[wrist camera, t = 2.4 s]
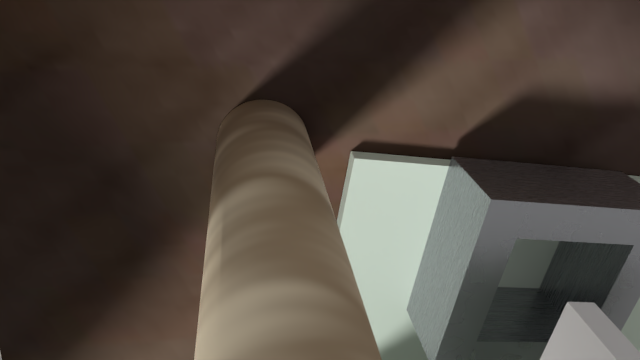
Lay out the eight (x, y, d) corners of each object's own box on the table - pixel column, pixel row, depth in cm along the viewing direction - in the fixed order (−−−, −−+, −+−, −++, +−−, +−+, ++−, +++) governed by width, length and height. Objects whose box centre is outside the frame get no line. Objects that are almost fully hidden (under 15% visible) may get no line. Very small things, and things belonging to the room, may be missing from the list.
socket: (406, 309, 26) (432, 368, 23) (451, 156, 23) (491, 199, 19) (555, 312, 28) (600, 368, 25) (621, 171, 24) (685, 213, 21)
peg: (214, 180, 22) (177, 552, 9) (219, 94, 21) (185, 400, 7) (301, 186, 23) (385, 537, 10) (314, 104, 21) (436, 397, 8)
